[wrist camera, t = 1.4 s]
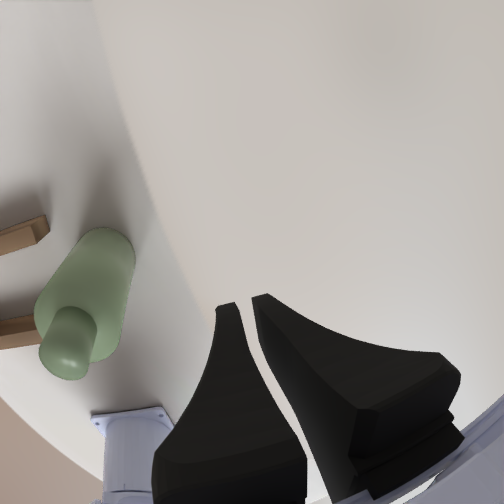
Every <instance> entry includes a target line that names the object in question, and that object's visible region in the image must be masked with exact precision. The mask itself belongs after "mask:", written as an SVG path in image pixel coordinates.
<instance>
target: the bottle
mask: <svg viewBox="0 0 504 504" xmlns="http://www.w3.org/2000/svg"><path fill="white" fill-rule="evenodd" d="M134 268H135V253H134V250H133V247H132V245H131V243H130V242H129V241H128V239H127V238H126V237H125V236H124V235H122V234H121V233H120V232H118V231H116V230H113V229H110V228H96V229H93V230H90V231H89V232H87V233H86V234H85V235H83V236H82V238H81V239H80V240H79V241H78V243H77V244H76V245H75V247H74V248H73V249H72V251H71V252H70V253H69V254H68V256H67V257H66V258H65V260H64V261H63V263H62V264H61V265H60V267H59V268H58V269H57V271H56V272H55V274H54V275H53V276H52V278H51V279H50V281H49V282H48V284H47V285H46V286H45V288H44V289H43V291H42V292H41V294H40V295H39V297H38V299H37V301H36V303H35V307H34V320H35V325H36V328H37V330H38V332H39V334H40V336H41V337H42V339H43V341H42V343H41V345H40V347H39V358H40V360H41V362H42V364H43V365H44V367H45V368H46V369H47V370H48V371H49V372H51V373H52V374H53V375H55V376H57V377H59V378H62V379H65V380H78V379H81V378H83V377H84V376H85V375H86V373H87V371H88V367H89V363H92V362H97V361H101V360H103V359H105V358H107V357H109V356H110V355H111V354H112V353H113V352H114V351H115V349H116V348H117V346H118V344H119V340H120V335H121V329H122V324H123V319H124V313H125V308H126V304H127V299H128V294H129V289H130V285H131V281H132V276H133V272H134Z"/></svg>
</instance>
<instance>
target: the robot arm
mask: <svg viewBox="0 0 504 504" xmlns="http://www.w3.org/2000/svg"><path fill="white" fill-rule="evenodd" d="M252 304H253V310H254V316H255V321H256V328H257V333H258V339H259V343H260V345H261V348H262V351H263V353H264V356H265V358H266V361H267V363H268V365H269V367H270V369H271V371H272V373H273V374H274V376H275V378H276V380H277V382H278V383H279V385H280V387H281V389H282V390H283V392H284V394H285V396H286V397H287V399H288V401H289V403H290V405H291V406H292V409H293V410H294V412H295V414H296V417H297V419H298V421H299V423H300V425H301V428H302V430H303V433H304V435H305V437H306V440H307V442H308V444H309V447H310V449H311V452H312V454H313V456H314V459H315V461H316V464H317V466H318V469H319V471H320V473H321V476H322V478H323V481H324V483H325V486H326V489H327V491H328V494H329V496H330V499H331V501H332V504H389V503H391V502H393V501H395V500H397V499H398V498H400V497H402V496H404V495H405V494H407V493H409V492H410V491H412V490H414V489H415V488H417V487H418V486H420V485H422V484H423V483H424V482H426V481H428V480H429V479H431V478H432V477H434V476H435V475H437V474H438V473H439V472H440V473H439V474H438V475H437V476H436V477H435V479H434V481H433V482H432V483H431V485H430V486H429V487H428V488H427V489H426V490H425V491H424V492H422V493H420V494H419V495H417V496H415V497H414V498H412V499H410V500H408V501H407V502H405V503H403V504H504V394H503V395H502V396H501V397H500V398H499V399H498V400H497V401H496V402H495V403H494V404H492V405H491V406H490V407H489V408H488V409H487V410H486V411H485V412H483V413H482V414H481V415H480V416H479V417H478V418H476V419H475V420H474V421H473V422H472V423H470V424H469V425H468V426H467V427H465V428H464V429H463V430H461V431H459V430H458V429H457V428H456V427H455V426H454V424H453V423H452V421H453V420H454V416H453V415H452V413H451V412H450V411H449V410H448V409H449V407H450V405H451V403H452V401H453V399H454V397H455V395H456V392H457V391H458V388H459V385H460V380H461V374H460V372H459V370H458V369H457V368H456V367H454V366H453V365H452V364H451V363H450V362H449V361H448V360H447V359H446V358H445V357H444V356H443V355H441V354H440V353H438V352H420V351H407V350H401V349H394V348H388V347H383V346H379V345H374V344H371V343H367V342H363V341H359V340H356V339H353V338H350V337H347V336H345V335H342V334H339V333H337V332H334V331H332V330H330V329H327V328H325V327H323V326H321V325H319V324H317V323H315V322H313V321H311V320H309V319H307V318H306V317H304V316H302V315H301V314H299V313H297V312H296V311H294V310H292V309H291V308H289V307H288V306H286V305H285V304H283V303H282V302H280V301H279V300H277V299H276V298H274V297H273V296H271V295H270V294H268V293H267V294H263V295H259V296H255V297H252ZM215 311H216V324H215V331H214V337H213V342H212V346H211V350H210V354H209V357H208V361H207V364H206V367H205V370H204V372H203V375H202V377H201V380H200V382H199V384H198V386H197V388H196V391H195V393H194V395H193V397H192V399H191V401H190V402H189V404H188V406H187V408H186V409H185V411H184V412H183V414H182V416H181V417H180V419H179V420H178V422H177V424H176V425H175V426H174V425H173V424H172V422H171V420H170V419H169V417H168V415H167V413H166V412H165V410H164V409H163V408H162V407H154V408H148V409H141V410H135V411H127V412H120V413H111V414H102V415H93V416H91V419H90V420H91V422H92V423H93V424H94V425H95V427H96V428H97V429H98V430H99V431H100V433H101V434H102V435H103V436H104V437H105V452H104V474H103V496H102V503H101V500H98V499H94V502H93V501H92V502H90V503H89V504H305V498H306V497H307V457H306V454H305V452H304V450H303V448H302V446H301V444H300V442H299V439H298V437H297V435H296V434H295V432H294V431H293V430H292V428H291V427H290V425H289V424H288V422H287V420H286V419H285V417H284V415H283V414H282V412H281V411H280V409H279V408H278V406H277V404H276V402H275V400H274V398H273V397H272V395H271V393H270V391H269V389H268V388H267V386H266V384H265V382H264V380H263V378H262V376H261V374H260V372H259V370H258V368H257V366H256V364H255V361H254V359H253V357H252V355H251V353H250V350H249V347H248V343H247V339H246V335H245V331H244V327H243V323H242V320H241V316H240V312H239V309H238V307H237V306H236V304H235V302H232V303H228V304H224V305H220V306H218V307H217V308H216V309H215ZM442 470H443V471H442ZM441 471H442V472H441Z"/></svg>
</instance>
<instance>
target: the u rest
mask: <svg viewBox="0 0 504 504" xmlns="http://www.w3.org/2000/svg"><path fill="white" fill-rule="evenodd" d="M49 232H50V229H49V226H48V223H47V220H46V216H45V215H43V216H40V217H37V218H34V219H31V220H29V221H26V222H23V223H20V224H18V225H15V226H12V227H9V228H7V229H4V230H2V231H0V256H1V255H4V254H7V253H10V252H13V251H16V250H19V249H22V248H25V247H28V246H31V245H35V244H37V243H38V242H39V241H40V240H41V239H42V238H43V237H44V236H46V235H47V234H48V233H49ZM42 341H43V339H42V337H41V336H40V334H39V332H38V330H37V328H36V325H35V320H34V314H32V315H27V316H23V317H18V318H13V319H9V320H4V321H0V350H3V349H9V348H16V347H23V346H29V345H35V344H41V343H42Z"/></svg>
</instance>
